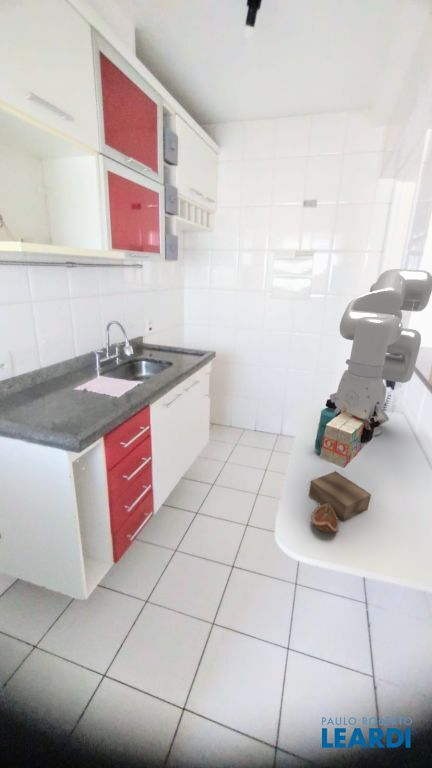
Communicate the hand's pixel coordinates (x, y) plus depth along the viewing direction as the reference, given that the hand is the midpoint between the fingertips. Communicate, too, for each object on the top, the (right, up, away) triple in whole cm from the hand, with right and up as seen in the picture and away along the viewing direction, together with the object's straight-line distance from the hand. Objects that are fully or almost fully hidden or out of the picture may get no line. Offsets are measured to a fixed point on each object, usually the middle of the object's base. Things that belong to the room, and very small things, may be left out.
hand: (351, 434), depth 88 cm
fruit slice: (-8, -23, -2) cm, 25 cm away
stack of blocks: (-1, -4, +1) cm, 4 cm away
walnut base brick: (-1, -20, +7) cm, 21 cm away
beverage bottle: (+3, -12, +32) cm, 34 cm away
